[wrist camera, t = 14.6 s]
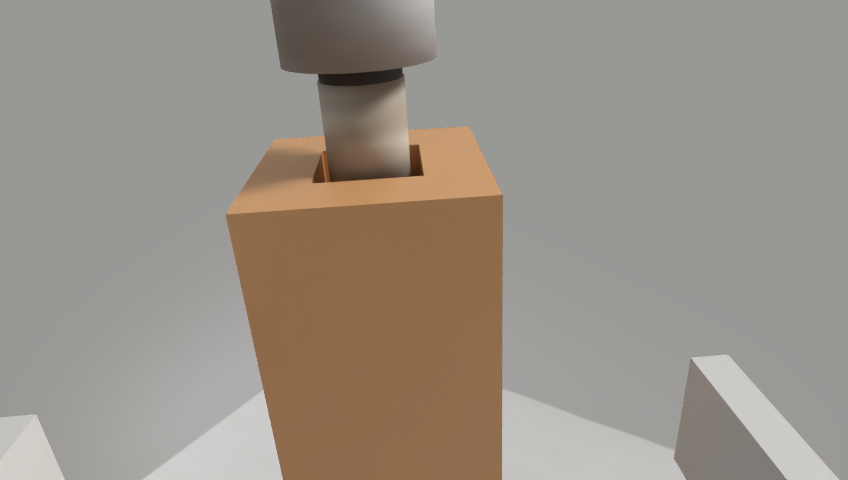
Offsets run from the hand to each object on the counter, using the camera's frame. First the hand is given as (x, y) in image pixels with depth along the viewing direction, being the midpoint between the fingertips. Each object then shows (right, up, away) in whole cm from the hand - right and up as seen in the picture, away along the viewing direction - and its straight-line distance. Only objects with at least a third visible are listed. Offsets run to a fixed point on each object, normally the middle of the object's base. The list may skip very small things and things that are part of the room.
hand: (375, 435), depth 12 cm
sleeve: (0, -3, +10) cm, 10 cm away
